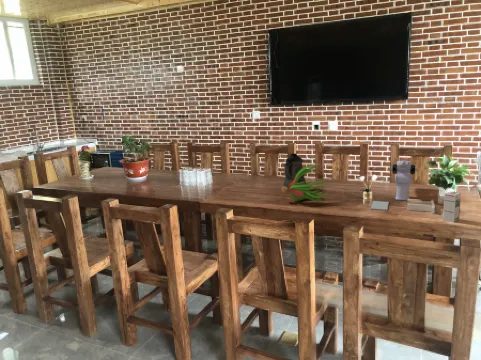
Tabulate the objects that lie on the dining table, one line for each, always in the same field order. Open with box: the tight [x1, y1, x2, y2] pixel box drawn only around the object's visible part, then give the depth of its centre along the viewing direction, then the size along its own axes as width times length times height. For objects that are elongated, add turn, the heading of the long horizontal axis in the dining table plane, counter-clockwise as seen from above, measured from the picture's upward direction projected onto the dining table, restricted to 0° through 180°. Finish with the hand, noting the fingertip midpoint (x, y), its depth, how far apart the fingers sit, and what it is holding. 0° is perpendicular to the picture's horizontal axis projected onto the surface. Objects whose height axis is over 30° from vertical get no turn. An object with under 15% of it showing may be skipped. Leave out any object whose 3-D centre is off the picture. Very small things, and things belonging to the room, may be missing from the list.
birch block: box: [406, 198, 422, 207], centre depth 224 cm, size 4×7×5 cm, turn 67°
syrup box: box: [442, 190, 462, 223], centre depth 202 cm, size 6×6×14 cm
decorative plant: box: [280, 161, 328, 204], centre depth 249 cm, size 26×25×30 cm
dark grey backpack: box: [282, 153, 307, 188], centre depth 280 cm, size 16×19×25 cm
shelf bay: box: [406, 199, 436, 215], centre depth 223 cm, size 16×14×4 cm
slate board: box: [370, 200, 390, 211], centre depth 232 cm, size 16×9×1 cm, turn 157°
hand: (403, 170), depth 224 cm, fingers open, 7 cm apart
